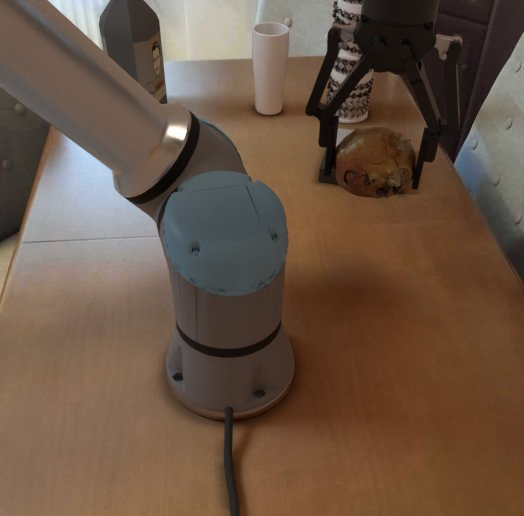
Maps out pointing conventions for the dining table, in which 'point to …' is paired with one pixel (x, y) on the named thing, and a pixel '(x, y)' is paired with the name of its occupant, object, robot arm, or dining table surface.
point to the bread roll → (374, 162)
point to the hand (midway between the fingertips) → (371, 176)
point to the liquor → (135, 43)
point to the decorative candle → (350, 67)
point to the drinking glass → (269, 65)
